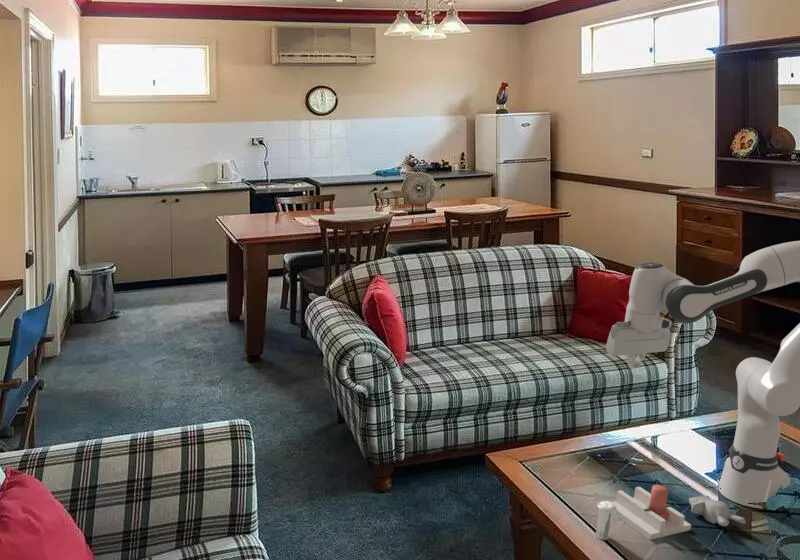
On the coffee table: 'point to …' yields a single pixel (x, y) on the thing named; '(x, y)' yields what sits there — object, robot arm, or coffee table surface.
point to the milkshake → (605, 519)
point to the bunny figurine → (713, 510)
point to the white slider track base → (648, 515)
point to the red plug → (659, 501)
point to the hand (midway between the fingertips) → (634, 367)
